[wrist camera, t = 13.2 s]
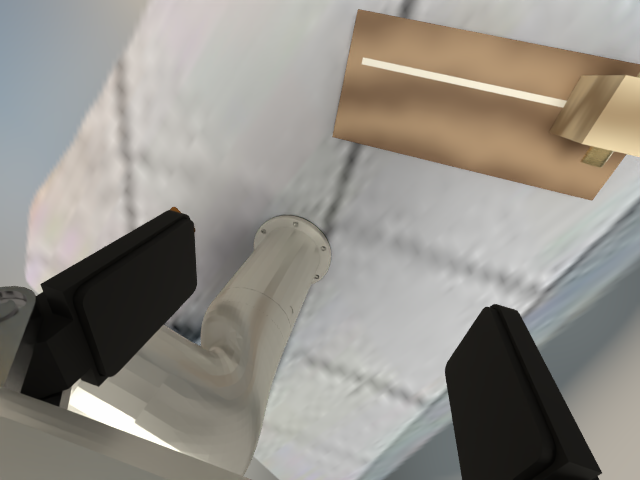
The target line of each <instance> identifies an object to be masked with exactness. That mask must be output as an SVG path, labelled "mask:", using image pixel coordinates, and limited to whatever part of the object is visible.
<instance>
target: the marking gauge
mask: <svg viewBox="0 0 640 480" xmlns="http://www.w3.org/2000/svg"><path fill="white" fill-rule="evenodd" d="M549 132H550V133H553V134H556V135H558V136H561V137H564V138H567V139H570V140H572V141H575V142H578V143H581V144H585V145H589V146H590V147H589V149H588V151H587V152H586V154H585V155H584V157H583V158H582V160H581V161H580V162H583V163H585V164H588V165H592V166H596V167H601V168H602V167H603V165H604V164H605V162H606V161H607V160H608V158H609V157H610V155H611V154H612V153H613V151H616V152H620V153H624V154H629V155H633V156H638V157H640V72H639V74H638V75H637V77H633V76H628V75H592V76H581V78H580V79H579V81H578V83H577V85H576V86H575V88H574V90H573V91H572V93H571V95H570V97H569V98H568V100H567V102H566V104H565V105H564V107H563V109H562V111H561V112H560V114H559V116H558V117H557V119H556V121H555V123H554V124H553V126H552V128H551V130H550V131H549Z"/></svg>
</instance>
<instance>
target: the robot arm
mask: <svg viewBox="0 0 640 480" xmlns="http://www.w3.org/2000/svg"><path fill="white" fill-rule="evenodd" d="M296 222H297V223H296ZM253 247H254V252H253V253H252V254H251V255H250V257H249V258H248V259H247V260H246V261H245V263H244V264H243V265H242V266H241V267H240V269H239V270H238V271H237V272H236V274H235V275H234V276H233V277H232V278H231V280H230V281H229V282H228V283H227V284H226V286H225V287H224V288H223V289H222V291H221V292H220V293H219V294H218V295H217V297H216V298H215V299H214V300H213V302H212V303H211V304H210V306H209V307H208V309H207V311H206V313H205V316H204V319H203V322H202V328H201V346H199V345H197V344H194V343H192V342H191V341H189V340H187V339H186V338H184V337H183V336H181V335H179V334H178V333H176V332H174V331H173V330H171V329H169V328H168V327H166V326H165V325H164V324H165V323H166V321H167V320H168V319H169V318H170V317H171V316H172V315H173V314H174V313H175V312H176V311H177V310H178V309H179V308H180V307H181V306H182V305H183V303H184V302H185V301H186V300H187V299H188V298H189V297H190V296H191V295H192V294H193V293H194V291H195V289H196V286H197V274H196V255H195V236H194V223H193V221H191V220H190V218H189V216H188V215H186V214H183V213H179V212H176V211H172V210H168V211H166V212H164V213H163V214H161V215H159V216H157V217H156V218H154V219H152V220H151V221H149V222H147V223H145V224H144V225H142V226H140V227H138V228H137V229H135V230H133V231H132V232H130V233H128V234H126V235H125V236H123V237H121V238H119V239H118V240H116V241H114V242H113V243H111V244H109V245H107V246H106V247H104V248H102V249H100V250H99V251H97V252H95V253H94V254H92V255H90V256H88V257H87V258H85V259H83V260H82V261H80V262H78V263H76V264H75V265H73V266H71V267H69V268H68V269H66V270H64V271H63V272H61V273H59V274H57V275H56V276H54V277H52V278H50V279H49V280H47V281H45V282H44V283H42V284H40V285H41V287H42V289H43V292H42V293H41V294H39V295H37V296H36V295H35V294H34V292H33V291H32V290H30V289H27V288H25V287H18V286H11V287H10V286H9V287H0V480H251V479H249V478H246V477H243V476H244V474H245V472H246V470H247V468H248V467H249V465H250V462H251V460H252V457H253V455H254V452H255V450H256V447H257V444H258V440H259V437H260V433H261V429H262V425H263V420H264V416H265V411H266V406H267V402H268V398H269V393H270V389H271V386H272V382H273V379H274V376H275V373H276V370H277V367H278V364H279V362H280V359H281V356H282V354H283V351H284V349H285V346H286V344H287V341H288V339H289V337H290V334H291V332H292V329H293V327H294V324H295V322H296V320H297V317H298V315H299V312H300V310H301V308H302V305H303V303H304V300H305V298H306V296H307V293H308V291H309V288H310V286H311V284H314V283H316V282H318V281H319V280H320V279H322V278H323V277H324V275H325V274H326V273H327V271H328V268H329V266H330V262H331V249H330V245H329V243H328V241H327V239H326V237H325V236H324V234H323V233H322V232H321V231H320V230H319V229H318V228H317V227H316V226H315V225H313V224H312V223H311V222H309V221H307V220H305V219H302V218H299V217H296V216H289V215H288V216H278V217H274V218H272V219H270V220H268V221H267V222H265V223H264V224H263V225H262V226H261V227H260V228H259V230H258V231H257V233H256V235H255V238H254V246H253ZM445 376H446V383H447V389H448V395H449V401H450V407H451V413H452V419H453V426H454V431H455V438H456V444H457V450H458V456H459V463H460V469H461V475H462V480H599V478H598V475H600V474H601V473H602V472H601V470H600V468H599V466H598V464H597V462H596V460H595V458H594V456H593V455H592V453H591V451H590V449H589V447H588V445H587V443H586V441H585V439H584V437H583V435H582V433H581V431H580V429H579V428H578V426H577V424H576V422H575V420H574V418H573V416H572V414H571V412H570V410H569V408H568V406H567V404H566V402H565V400H564V399H563V397H562V395H561V393H560V391H559V389H558V387H557V385H556V383H555V381H554V379H553V378H552V375H551V373H550V372H549V370H548V368H547V366H546V364H545V362H544V360H543V358H542V356H541V354H540V352H539V350H538V348H537V347H536V345H535V343H534V341H533V339H532V337H531V335H530V333H529V331H528V329H527V327H526V325H525V323H524V321H523V320H522V318H521V316H520V314H519V312H518V311H516V310H514V309H511V308H507V307H504V306H500V305H497V304H493V305H492V306H490V307H485V308H484V309H483V310H482V311H481V313H480V314H479V316H478V317H477V319H476V320H475V322H474V323H473V325H472V326H471V328H470V329H469V331H468V332H467V334H466V335H465V337H464V338H463V340H462V341H461V343H460V344H459V346H458V347H457V349H456V350H455V352H454V353H453V354H452V356H451V357H450V359H449V360H448V362H447V364H446V368H445Z"/></svg>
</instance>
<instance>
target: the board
mask: <svg viewBox="0 0 640 480" xmlns="http://www.w3.org/2000/svg"><path fill="white" fill-rule="evenodd" d="M639 72H640V64H634V63H629V62H624V61H619V60H614V59H609V58H604V57H599V56H594V55H589V54H584V53H578V52H573V51H568V50H563V49H558V48H553V47H548V46H543V45H538V44H533V43H527V42H522V41H517V40H512V39H507V38H502V37H497V36H492V35H487V34H482V33H477V32H471V31H466V30H461V29H456V28H451V27H446V26H441V25H436V24H431V23H426V22H421V21H415V20H410V19H405V18H400V17H395V16H390V15H385V14H380V13H375V12H370V11H365V10H359V9H358V12H357V17H356V21H355V26H354V31H353V36H352V41H351V46H350V51H349V56H348V61H347V66H346V71H345V76H344V81H343V86H342V91H341V96H340V101H339V106H338V111H337V116H336V121H335V126H334V131H333V136H332V137H335V138H339V139H343V140H347V141H351V142H355V143H359V144H364V145H368V146H372V147H376V148H380V149H384V150H388V151H392V152H396V153H400V154H404V155H408V156H412V157H417V158H421V159H425V160H429V161H433V162H437V163H441V164H445V165H449V166H453V167H457V168H461V169H465V170H470V171H474V172H478V173H482V174H486V175H490V176H494V177H498V178H502V179H506V180H510V181H514V182H518V183H523V184H527V185H531V186H535V187H539V188H543V189H547V190H551V191H555V192H559V193H563V194H567V195H571V196H576V197H580V198H584V199H588V200H593V199H594V197H595V196H596V195H597V193H598V192H599V191H600V189H601V188H602V187H603V185H604V184H605V182H606V181H607V180H608V178H609V177H610V176H611V174H612V173H613V172H614V170H615V169H616V168H617V166H618V165H619V164H620V162H621V161H622V160H623V158H624V157H625V156H626V154H624V153H620V152H616V151H613V153H612V154H611V155H610V157H609V158H608V160H607V161H606V162H605V164H604V165H603V167H602V168H601V167H596V166H592V165H588V164H585V163H583V162H580V161H581V160H582V158H583V157H584V155H585V154H586V152H587V151H588V149H589V147H590V146H589V145H585V144H581V143H578V142H575V141H572V140H570V139H567V138H564V137H561V136H558V135H556V134H553V133H550V132H549V131H550V130H551V128H552V126H553V124H554V123H555V121H556V119H557V117H558V116H559V114H560V112H561V111H562V109H563V107H564V105H565V104H566V102H567V100H568V98H569V97H570V95H571V93H572V91H573V90H574V88H575V86H576V85H577V83H578V81H579V79H580V78H581V76H592V75H628V76H633V77H637V75H638V74H639Z"/></svg>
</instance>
